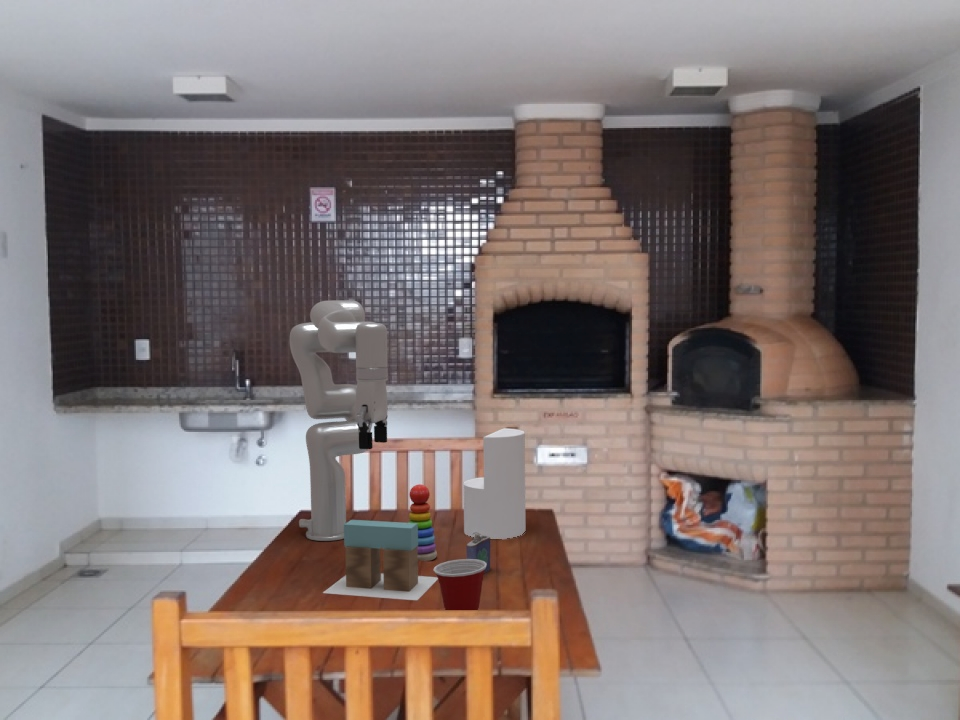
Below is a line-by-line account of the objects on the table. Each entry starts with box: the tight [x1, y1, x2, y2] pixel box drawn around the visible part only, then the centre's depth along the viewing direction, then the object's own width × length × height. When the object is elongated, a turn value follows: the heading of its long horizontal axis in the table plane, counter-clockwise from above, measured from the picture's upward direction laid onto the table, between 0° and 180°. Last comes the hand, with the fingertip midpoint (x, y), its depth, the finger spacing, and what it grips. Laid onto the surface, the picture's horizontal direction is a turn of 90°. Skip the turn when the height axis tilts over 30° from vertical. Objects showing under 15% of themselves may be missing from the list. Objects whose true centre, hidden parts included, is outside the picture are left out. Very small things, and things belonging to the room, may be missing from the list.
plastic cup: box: [433, 558, 487, 611], centre depth 180 cm, size 11×11×12 cm
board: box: [322, 572, 438, 601], centre depth 202 cm, size 22×16×1 cm
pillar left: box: [344, 546, 382, 589], centre depth 202 cm, size 6×6×9 cm
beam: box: [343, 519, 418, 551], centre depth 201 cm, size 16×4×5 cm, turn 75°
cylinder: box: [463, 427, 527, 540], centre depth 249 cm, size 17×17×28 cm
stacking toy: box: [408, 483, 438, 562], centre depth 225 cm, size 8×8×19 cm
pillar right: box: [382, 547, 419, 592], centre depth 200 cm, size 6×6×9 cm
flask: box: [466, 532, 491, 574], centre depth 209 cm, size 9×3×11 cm, turn 151°
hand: (373, 445), depth 215 cm, fingers open, 9 cm apart
